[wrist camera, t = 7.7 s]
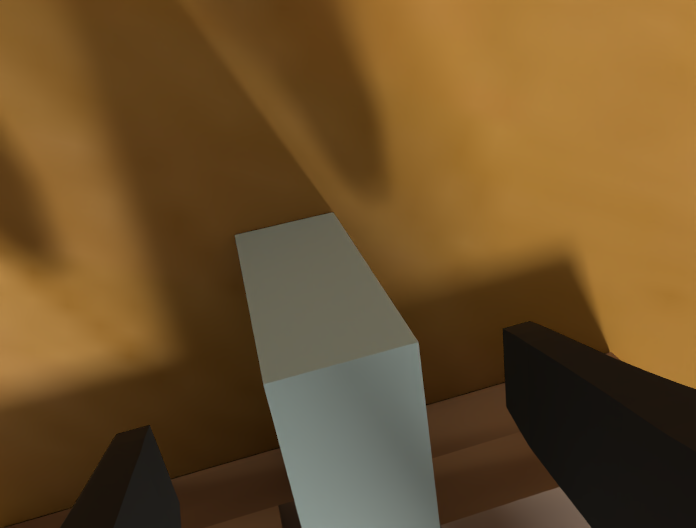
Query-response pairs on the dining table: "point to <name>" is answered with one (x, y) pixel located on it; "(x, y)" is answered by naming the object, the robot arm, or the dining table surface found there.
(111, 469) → the robot arm
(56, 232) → the dining table surface
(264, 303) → the pale green flat block
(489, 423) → the walnut rail
